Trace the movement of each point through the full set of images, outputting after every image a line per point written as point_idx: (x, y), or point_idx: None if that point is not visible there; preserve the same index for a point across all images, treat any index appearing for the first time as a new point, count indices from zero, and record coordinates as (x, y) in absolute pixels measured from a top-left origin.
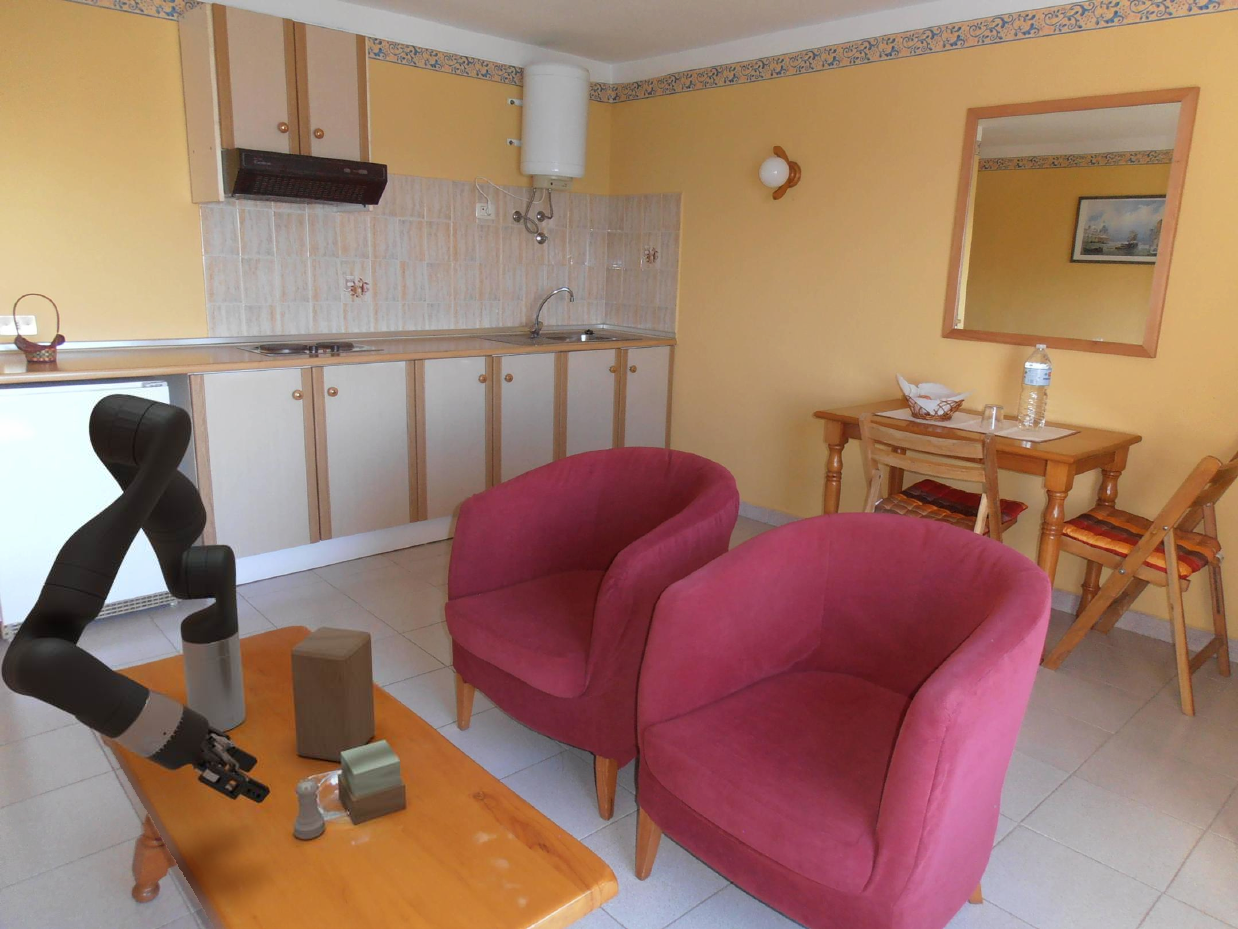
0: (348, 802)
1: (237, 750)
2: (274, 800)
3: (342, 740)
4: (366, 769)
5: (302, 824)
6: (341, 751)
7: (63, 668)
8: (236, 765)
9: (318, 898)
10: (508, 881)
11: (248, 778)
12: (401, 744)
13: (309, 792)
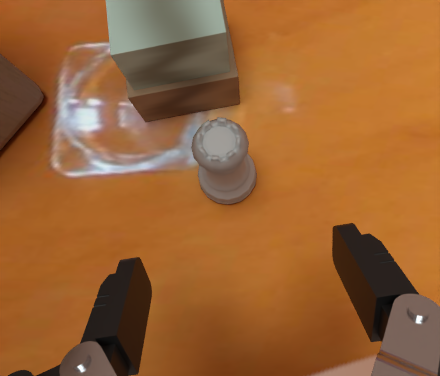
0: (204, 95)
1: (117, 337)
2: (101, 233)
3: (8, 77)
4: (214, 6)
5: (244, 182)
6: (24, 94)
7: None
8: (424, 374)
9: (427, 175)
10: None
11: (415, 300)
12: (31, 11)
13: (245, 138)
